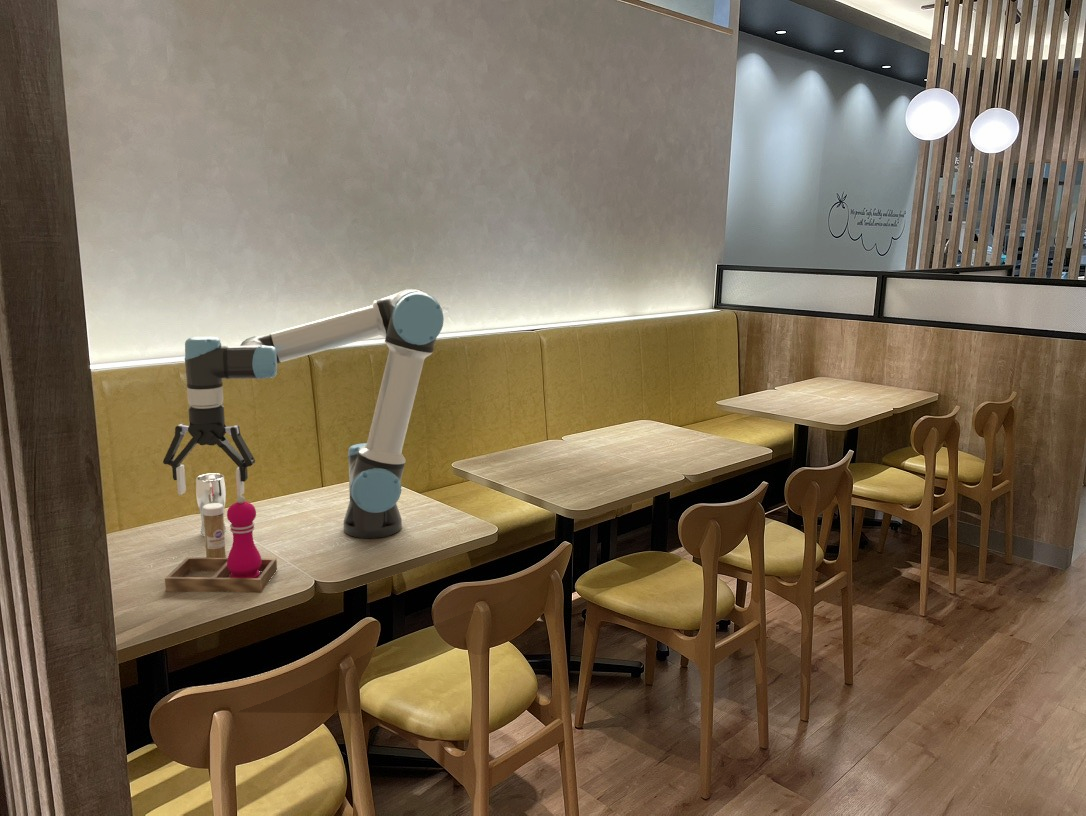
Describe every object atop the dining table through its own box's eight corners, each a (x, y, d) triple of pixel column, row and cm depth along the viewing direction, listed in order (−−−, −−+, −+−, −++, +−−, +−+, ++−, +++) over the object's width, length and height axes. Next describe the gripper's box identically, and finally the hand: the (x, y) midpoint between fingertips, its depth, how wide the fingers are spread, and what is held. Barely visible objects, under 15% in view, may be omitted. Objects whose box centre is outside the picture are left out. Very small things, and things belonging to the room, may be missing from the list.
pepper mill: (222, 580, 181) (217, 495, 177) (253, 571, 186) (249, 488, 182) (236, 591, 176) (231, 503, 172) (268, 581, 181) (263, 496, 177)
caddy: (277, 570, 187) (276, 558, 186) (260, 592, 175) (260, 579, 175) (187, 569, 186) (186, 557, 186) (165, 591, 175) (164, 578, 174)
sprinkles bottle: (214, 564, 189) (211, 509, 187) (201, 560, 192) (197, 506, 189) (230, 558, 193) (227, 504, 191) (217, 554, 196) (214, 501, 193)
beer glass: (217, 538, 205) (214, 482, 202) (193, 536, 206) (189, 479, 203) (233, 529, 212) (230, 474, 208) (209, 526, 213) (205, 472, 210)
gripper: (266, 402, 189) (270, 489, 193) (158, 400, 188) (164, 487, 192) (255, 409, 181) (260, 500, 186) (143, 406, 181) (150, 497, 185)
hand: (211, 493), depth 189 cm, fingers open, 13 cm apart
